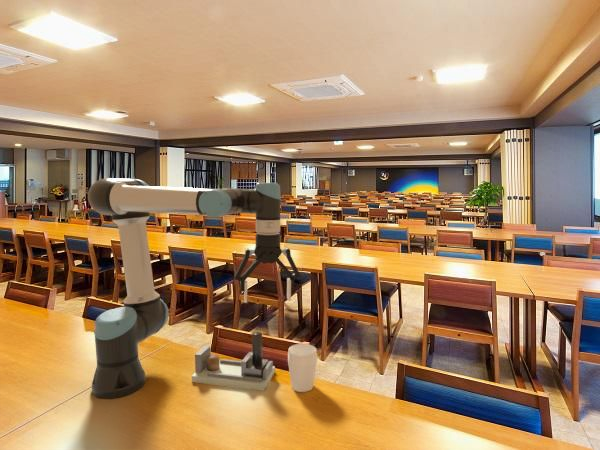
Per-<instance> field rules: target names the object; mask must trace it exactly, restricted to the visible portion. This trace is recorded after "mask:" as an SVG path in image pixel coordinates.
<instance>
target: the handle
mask: <svg viewBox="0 0 600 450" xmlns="http://www.w3.org/2000/svg"><path fill="white" fill-rule="evenodd" d="M240 361H241V376H248V377H256V378H262V377H263V370H264V368H265V367H266V365H267V364H268V362H269V359H266V358H265V359H264V358H263V333H262V332H261V331H255V332H252V333H251V351H249V352H247V354H246V355H245V356H244V358H243V359H242V360H240Z"/></svg>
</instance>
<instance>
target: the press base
mask: <svg viewBox="0 0 600 450" xmlns="http://www.w3.org/2000/svg"><path fill="white" fill-rule="evenodd" d="M211 352H212V351H211V345H206V344H205V345H204V346H202V348H200V349H199V350H198V351H196V353H195V354H194V366H195V372H194V373H192V375H191V382H192V383H198V384H204V385H205V384H206V385H213V386H222V387H223V386H224V387H229V388H230V387H231V388H238V389H246V390H254V391H262V392H264V391H265V389H266V387H267V386H268V384H269V383H270V381H271V379H272V378H273V376H274V374H275V372H276V366H275V365H273V364H274V363H273V362H274V361H273V360H268V364H267V365H266V367H265V368H264V370H263V377H262V378H256V377H248V376H241V361H242V360H231V359H226V358H224V359H222V358H221V359H220V358H219V367H220V368H219V370H217V371H208V370H207V356H209V355H212V354H211Z"/></svg>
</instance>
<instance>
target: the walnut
mask: <svg viewBox="0 0 600 450" xmlns="http://www.w3.org/2000/svg"><path fill="white" fill-rule="evenodd" d="M219 360H220V355H219V354H214V353H212V354H211V355H209V356H207V370H208V371H217V370H219V368H220V367H219Z"/></svg>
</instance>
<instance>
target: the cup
mask: <svg viewBox="0 0 600 450" xmlns="http://www.w3.org/2000/svg"><path fill="white" fill-rule="evenodd" d="M317 352H318V351H317V348H316V347H315V346H314V345H311V344H307V343H298V344H292V345H290V346H289V348H288V351H287V364H288V371H289V377H290V378H289V379H290V383H291V384H290V386H291V388H292V389H293V391H294V392H299V393H305V392H309V391H311V390H312V389H313V388H314V384H315V383H314V382H315V376H316V369H317V363H318V361H317V360H318V356H317V354H318V353H317Z"/></svg>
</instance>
